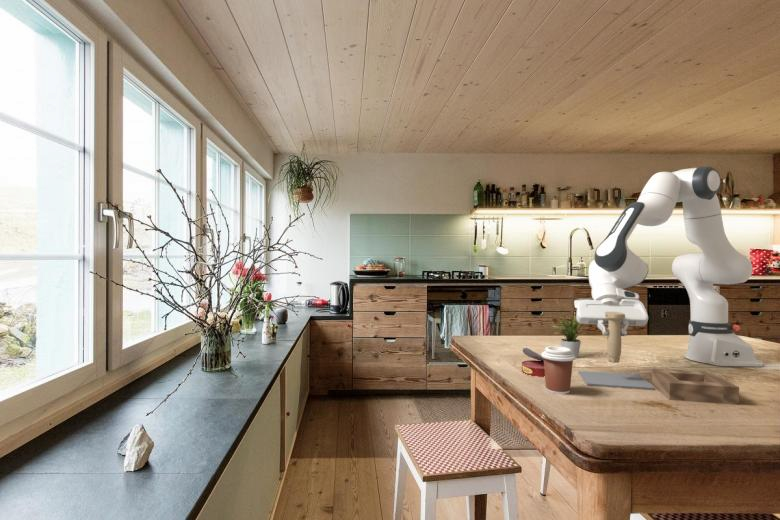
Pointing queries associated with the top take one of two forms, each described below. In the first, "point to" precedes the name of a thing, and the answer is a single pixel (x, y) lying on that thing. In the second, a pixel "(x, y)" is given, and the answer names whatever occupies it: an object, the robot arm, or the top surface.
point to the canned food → (533, 364)
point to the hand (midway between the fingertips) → (614, 334)
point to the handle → (614, 335)
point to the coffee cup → (558, 368)
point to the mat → (615, 380)
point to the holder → (695, 386)
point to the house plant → (570, 335)
